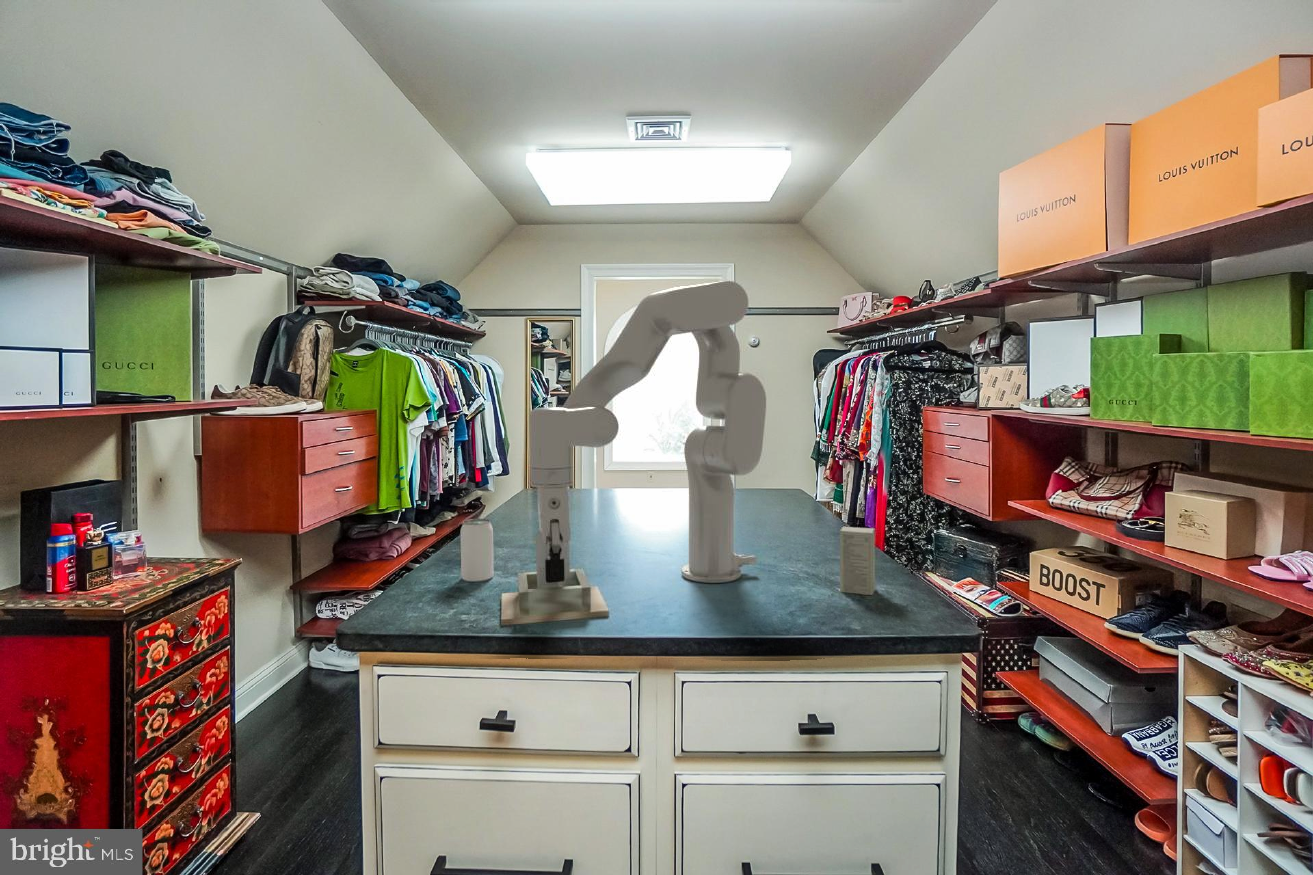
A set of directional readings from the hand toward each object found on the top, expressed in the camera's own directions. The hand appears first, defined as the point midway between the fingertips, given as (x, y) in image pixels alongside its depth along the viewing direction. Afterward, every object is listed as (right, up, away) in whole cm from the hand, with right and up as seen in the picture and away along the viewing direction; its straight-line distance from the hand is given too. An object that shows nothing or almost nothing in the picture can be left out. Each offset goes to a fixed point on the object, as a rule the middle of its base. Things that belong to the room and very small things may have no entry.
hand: (553, 574), depth 111 cm
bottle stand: (0, -6, 0) cm, 6 cm away
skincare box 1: (0, -4, 0) cm, 4 cm away
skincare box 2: (+57, -5, +9) cm, 58 cm away
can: (-19, -5, +18) cm, 27 cm away
